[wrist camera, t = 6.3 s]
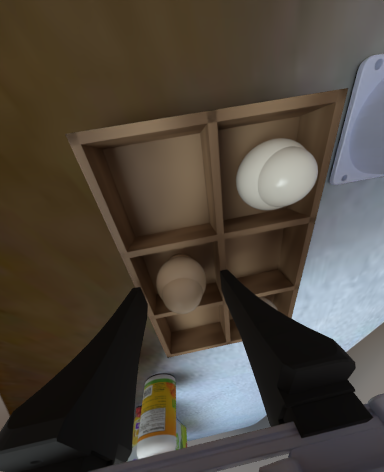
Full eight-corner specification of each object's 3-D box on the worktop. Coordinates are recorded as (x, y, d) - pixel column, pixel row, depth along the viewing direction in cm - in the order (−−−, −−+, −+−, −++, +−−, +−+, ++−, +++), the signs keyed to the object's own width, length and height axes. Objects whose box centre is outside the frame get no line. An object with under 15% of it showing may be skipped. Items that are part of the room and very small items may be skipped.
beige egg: (198, 242, 13) (210, 280, 9) (203, 276, 15) (216, 321, 11) (153, 250, 13) (143, 293, 9) (164, 284, 15) (160, 333, 11)
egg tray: (299, 110, 11) (347, 88, 8) (271, 307, 20) (288, 331, 17) (97, 143, 10) (65, 134, 7) (168, 329, 20) (167, 357, 17)
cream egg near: (281, 139, 10) (361, 119, 6) (275, 197, 12) (332, 214, 8) (225, 149, 10) (264, 136, 6) (227, 206, 12) (258, 228, 8)
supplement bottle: (176, 385, 27) (177, 487, 19) (147, 389, 27) (134, 496, 18) (175, 371, 25) (176, 480, 16) (143, 375, 24) (126, 491, 16)
